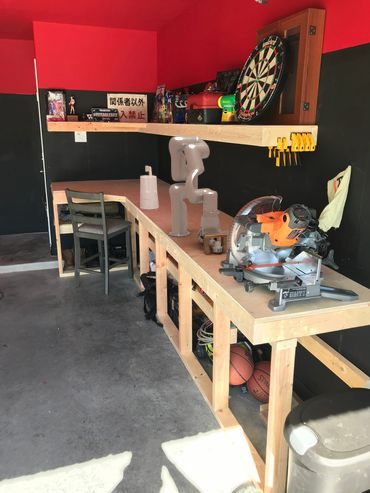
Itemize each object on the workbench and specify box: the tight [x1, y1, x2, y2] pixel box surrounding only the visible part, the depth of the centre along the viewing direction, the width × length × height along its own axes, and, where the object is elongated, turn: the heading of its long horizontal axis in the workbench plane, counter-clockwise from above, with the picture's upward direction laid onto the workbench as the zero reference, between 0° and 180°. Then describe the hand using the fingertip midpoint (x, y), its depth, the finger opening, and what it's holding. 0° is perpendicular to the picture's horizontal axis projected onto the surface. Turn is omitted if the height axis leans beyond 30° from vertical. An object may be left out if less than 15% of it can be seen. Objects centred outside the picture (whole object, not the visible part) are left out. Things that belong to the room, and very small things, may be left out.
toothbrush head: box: [197, 234, 223, 254], centre depth 234 cm, size 5×7×25 cm
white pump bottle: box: [139, 165, 160, 210], centre depth 343 cm, size 15×15×33 cm
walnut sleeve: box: [203, 232, 228, 256], centre depth 226 cm, size 4×12×10 cm, turn 106°
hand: (209, 245), depth 235 cm, fingers closed on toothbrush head, 5 cm apart
